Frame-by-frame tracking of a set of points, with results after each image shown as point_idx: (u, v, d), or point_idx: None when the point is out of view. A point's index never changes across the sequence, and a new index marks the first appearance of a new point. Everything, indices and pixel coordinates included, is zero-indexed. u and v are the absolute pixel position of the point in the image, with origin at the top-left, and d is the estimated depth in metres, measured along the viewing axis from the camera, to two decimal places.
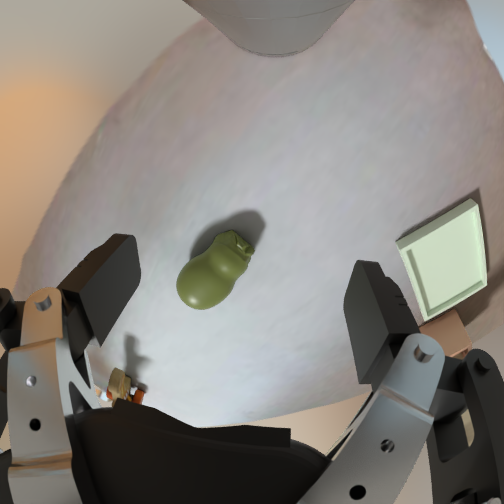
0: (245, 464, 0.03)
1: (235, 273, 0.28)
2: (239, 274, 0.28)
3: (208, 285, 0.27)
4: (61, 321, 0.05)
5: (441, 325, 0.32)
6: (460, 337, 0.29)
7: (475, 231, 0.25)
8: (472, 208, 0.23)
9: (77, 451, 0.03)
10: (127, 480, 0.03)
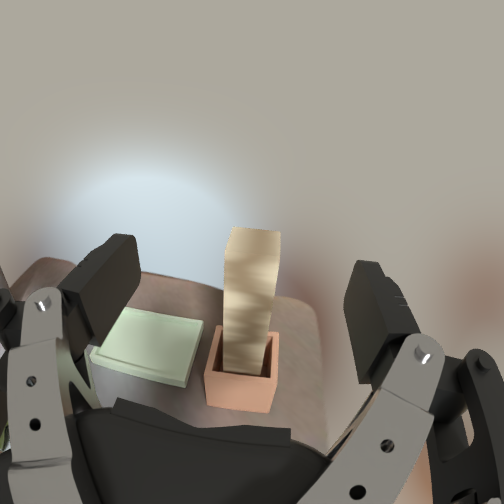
0: (245, 464, 0.03)
1: None
2: None
3: None
4: (61, 321, 0.05)
5: None
6: None
7: (141, 316, 0.40)
8: None
9: (77, 451, 0.03)
10: (127, 480, 0.03)
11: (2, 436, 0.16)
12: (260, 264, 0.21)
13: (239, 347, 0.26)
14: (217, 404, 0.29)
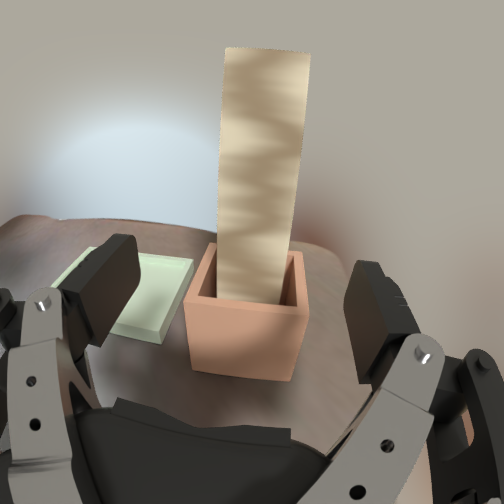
0: (245, 464, 0.03)
1: None
2: None
3: None
4: (61, 321, 0.05)
5: None
6: None
7: None
8: (86, 250, 0.30)
9: (77, 451, 0.03)
10: (127, 480, 0.03)
11: None
12: (280, 65, 0.11)
13: (245, 245, 0.16)
14: (208, 367, 0.19)
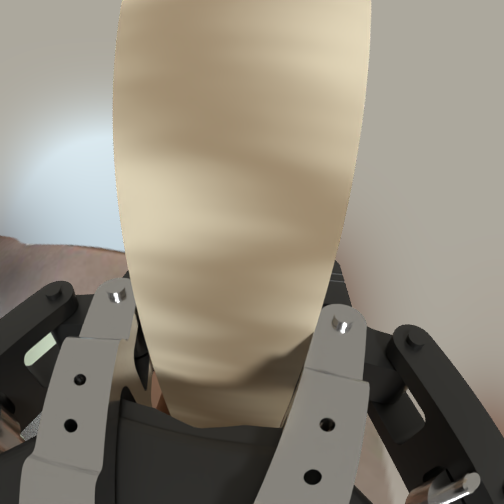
0: (245, 464, 0.03)
1: None
2: None
3: None
4: (132, 320, 0.06)
5: None
6: None
7: None
8: None
9: (109, 464, 0.03)
10: None
11: None
12: None
13: (210, 398, 0.08)
14: None
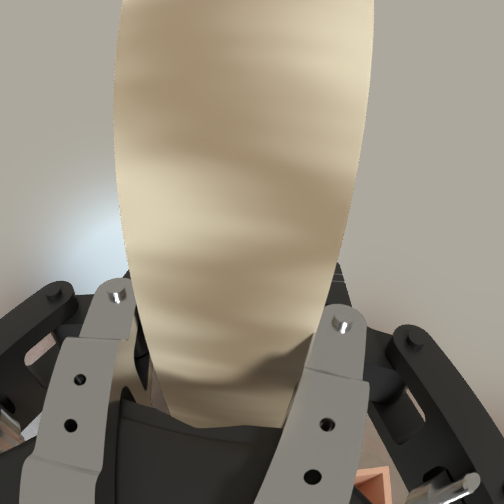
0: (245, 464, 0.03)
1: None
2: None
3: None
4: (132, 320, 0.06)
5: None
6: None
7: None
8: None
9: (109, 464, 0.03)
10: (153, 503, 0.02)
11: None
12: None
13: (211, 399, 0.08)
14: None
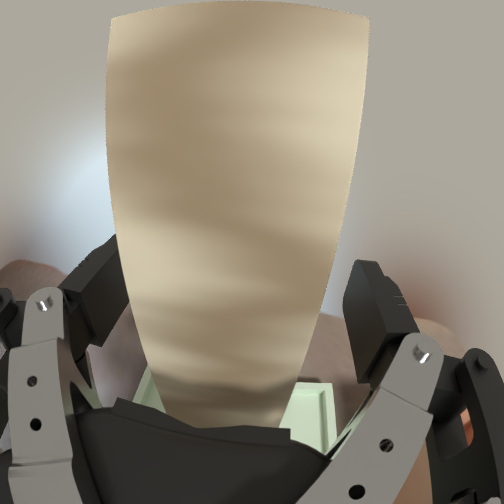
0: (245, 464, 0.03)
1: None
2: None
3: None
4: (62, 321, 0.05)
5: None
6: None
7: None
8: (147, 369, 0.19)
9: (78, 451, 0.03)
10: (128, 480, 0.03)
11: None
12: (273, 48, 0.03)
13: (208, 415, 0.08)
14: None
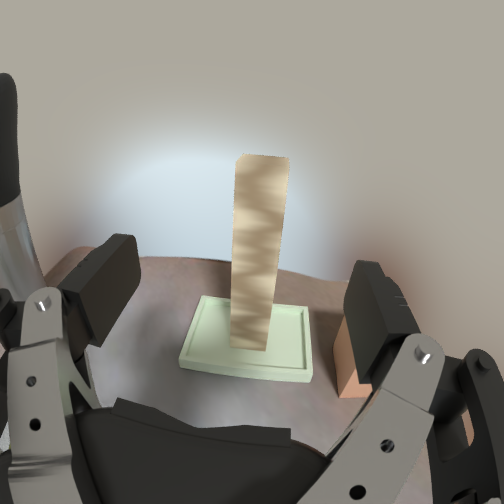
0: (245, 464, 0.03)
1: None
2: None
3: None
4: (61, 321, 0.05)
5: (338, 358, 0.28)
6: (345, 324, 0.28)
7: None
8: (201, 299, 0.36)
9: (77, 451, 0.03)
10: (127, 480, 0.03)
11: None
12: (270, 175, 0.20)
13: (248, 281, 0.25)
14: (352, 394, 0.25)
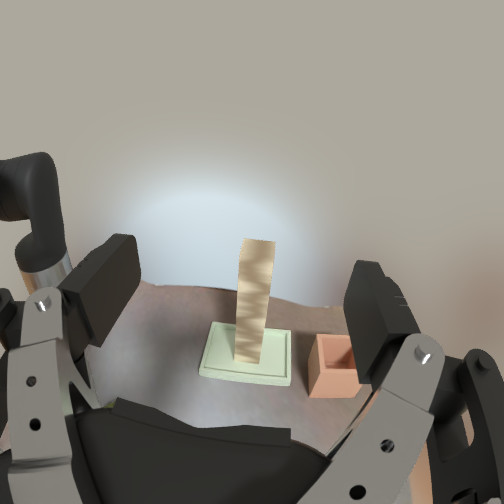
0: (245, 464, 0.03)
1: None
2: None
3: None
4: (61, 321, 0.05)
5: (310, 370, 0.41)
6: (314, 347, 0.40)
7: (234, 330, 0.48)
8: (212, 325, 0.48)
9: (77, 451, 0.03)
10: (127, 480, 0.03)
11: None
12: (261, 263, 0.33)
13: (247, 321, 0.38)
14: (318, 395, 0.37)
